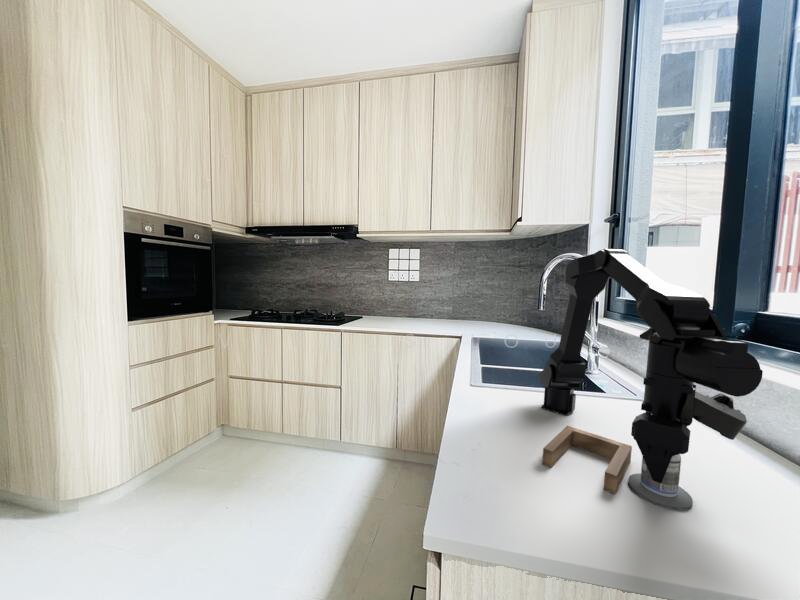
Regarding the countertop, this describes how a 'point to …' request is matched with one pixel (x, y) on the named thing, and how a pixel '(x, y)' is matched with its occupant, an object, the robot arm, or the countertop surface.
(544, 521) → the countertop surface
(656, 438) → the robot arm
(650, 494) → the coaster
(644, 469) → the pill bottle
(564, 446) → the nook
